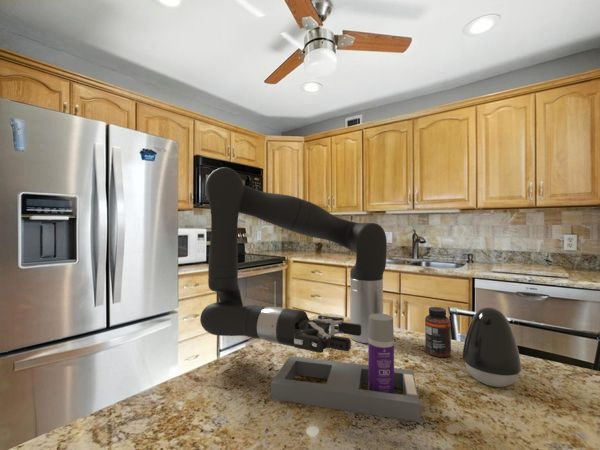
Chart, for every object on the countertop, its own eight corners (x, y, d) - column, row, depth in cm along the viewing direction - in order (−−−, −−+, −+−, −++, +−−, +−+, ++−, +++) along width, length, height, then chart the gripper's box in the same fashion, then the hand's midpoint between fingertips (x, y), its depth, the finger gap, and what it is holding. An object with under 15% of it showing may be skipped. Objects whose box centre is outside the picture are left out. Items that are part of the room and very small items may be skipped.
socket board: (289, 369, 67) (289, 355, 67) (412, 384, 61) (412, 369, 61) (270, 398, 56) (270, 381, 56) (420, 422, 49) (420, 402, 49)
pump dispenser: (456, 381, 62) (456, 308, 62) (469, 364, 70) (469, 299, 70) (516, 401, 55) (516, 318, 55) (524, 379, 63) (523, 307, 63)
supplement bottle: (445, 348, 79) (445, 305, 79) (455, 358, 73) (454, 312, 73) (422, 348, 79) (422, 305, 79) (429, 357, 73) (429, 311, 73)
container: (380, 406, 53) (380, 322, 53) (363, 393, 58) (363, 315, 58) (399, 399, 56) (399, 318, 56) (381, 387, 60) (381, 312, 60)
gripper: (265, 317, 59) (346, 329, 52) (296, 301, 72) (364, 309, 65) (265, 355, 59) (346, 372, 52) (296, 332, 72) (364, 343, 65)
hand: (356, 337), depth 58 cm, fingers open, 8 cm apart
